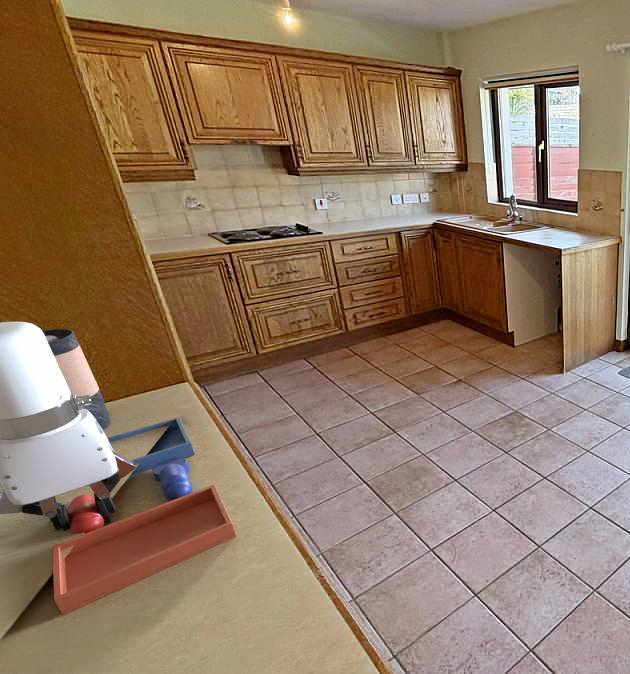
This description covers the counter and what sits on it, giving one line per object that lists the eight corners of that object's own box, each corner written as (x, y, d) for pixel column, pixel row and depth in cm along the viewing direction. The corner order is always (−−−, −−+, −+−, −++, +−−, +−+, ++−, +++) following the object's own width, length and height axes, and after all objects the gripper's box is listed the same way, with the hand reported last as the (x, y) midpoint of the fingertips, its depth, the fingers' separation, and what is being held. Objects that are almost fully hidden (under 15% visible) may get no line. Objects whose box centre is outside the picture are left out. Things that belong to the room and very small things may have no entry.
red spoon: (114, 532, 68) (106, 514, 66) (70, 549, 65) (60, 532, 63) (106, 488, 75) (98, 472, 74) (66, 502, 72) (57, 486, 71)
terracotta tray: (236, 536, 68) (232, 523, 67) (62, 615, 56) (53, 600, 55) (218, 496, 75) (214, 484, 74) (59, 560, 63) (52, 546, 62)
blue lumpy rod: (201, 497, 74) (195, 481, 73) (165, 512, 71) (158, 495, 70) (186, 461, 82) (180, 446, 81) (152, 473, 79) (146, 457, 78)
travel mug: (115, 420, 92) (74, 325, 84) (117, 437, 87) (73, 338, 79) (58, 435, 87) (8, 335, 79) (56, 454, 82) (3, 350, 74)
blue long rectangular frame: (195, 454, 84) (190, 442, 83) (52, 502, 72) (45, 489, 71) (183, 427, 91) (179, 416, 90) (51, 468, 79) (44, 455, 78)
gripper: (119, 385, 69) (160, 484, 76) (-66, 429, 58) (3, 541, 65) (125, 405, 64) (168, 509, 72) (-74, 457, 53) (0, 574, 60)
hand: (89, 523), depth 68 cm, fingers closed on red spoon, 3 cm apart
